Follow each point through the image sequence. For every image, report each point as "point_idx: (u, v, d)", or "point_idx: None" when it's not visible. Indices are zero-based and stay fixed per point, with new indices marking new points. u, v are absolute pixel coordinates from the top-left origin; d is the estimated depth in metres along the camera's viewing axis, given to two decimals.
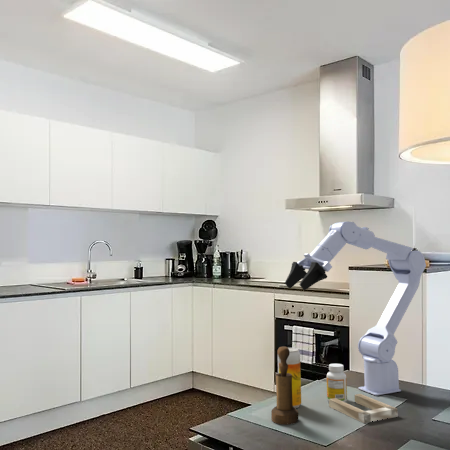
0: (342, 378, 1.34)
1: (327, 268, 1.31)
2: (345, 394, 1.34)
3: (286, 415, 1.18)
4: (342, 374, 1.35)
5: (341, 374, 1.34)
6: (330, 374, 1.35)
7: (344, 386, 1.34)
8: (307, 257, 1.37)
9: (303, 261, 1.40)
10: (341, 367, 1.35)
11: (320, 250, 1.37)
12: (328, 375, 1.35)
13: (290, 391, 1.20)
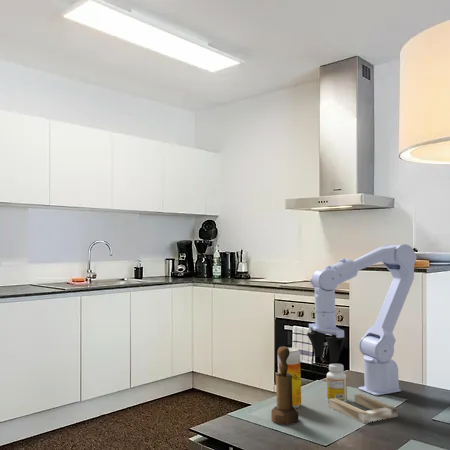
0: (342, 378, 1.34)
1: (341, 336, 1.34)
2: (345, 394, 1.34)
3: (286, 415, 1.18)
4: (342, 374, 1.35)
5: (341, 374, 1.34)
6: (330, 374, 1.35)
7: (344, 386, 1.34)
8: None
9: None
10: (341, 367, 1.35)
11: (322, 317, 1.39)
12: (328, 375, 1.35)
13: (290, 391, 1.20)
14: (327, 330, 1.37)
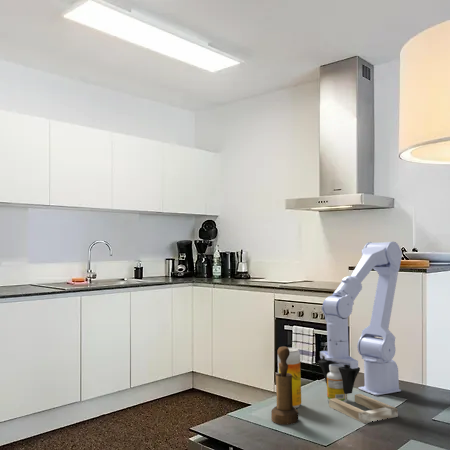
0: None
1: (355, 366, 1.29)
2: (345, 394, 1.34)
3: (286, 415, 1.18)
4: None
5: None
6: (330, 374, 1.35)
7: None
8: (329, 359, 1.34)
9: None
10: None
11: (335, 346, 1.33)
12: (328, 375, 1.35)
13: (290, 391, 1.20)
14: (340, 360, 1.31)
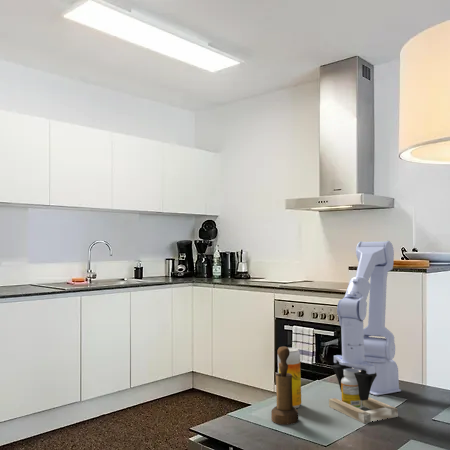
0: None
1: (372, 372, 1.23)
2: None
3: (286, 415, 1.18)
4: None
5: (356, 380, 1.28)
6: (345, 379, 1.29)
7: None
8: (344, 364, 1.28)
9: None
10: None
11: (350, 351, 1.27)
12: (343, 380, 1.29)
13: (290, 391, 1.20)
14: (356, 365, 1.26)
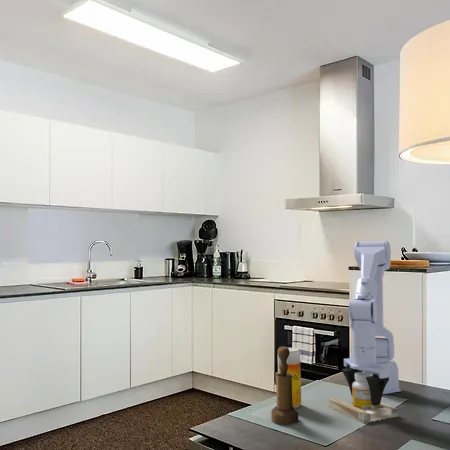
0: None
1: (385, 376, 1.19)
2: None
3: (286, 415, 1.18)
4: None
5: None
6: (356, 384, 1.25)
7: None
8: None
9: None
10: (368, 376, 1.25)
11: (361, 354, 1.23)
12: (354, 385, 1.25)
13: (290, 391, 1.20)
14: (368, 369, 1.22)
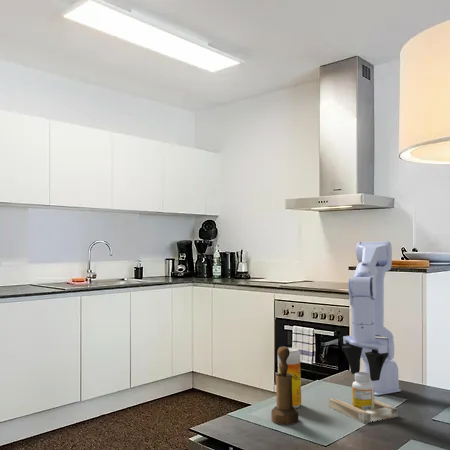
0: (370, 388, 1.24)
1: (384, 351, 1.19)
2: (373, 405, 1.24)
3: (286, 415, 1.18)
4: (370, 384, 1.25)
5: (368, 384, 1.24)
6: (356, 384, 1.25)
7: (372, 397, 1.24)
8: (355, 344, 1.25)
9: None
10: (368, 376, 1.25)
11: (361, 330, 1.24)
12: (354, 385, 1.25)
13: (290, 391, 1.20)
14: (367, 344, 1.22)
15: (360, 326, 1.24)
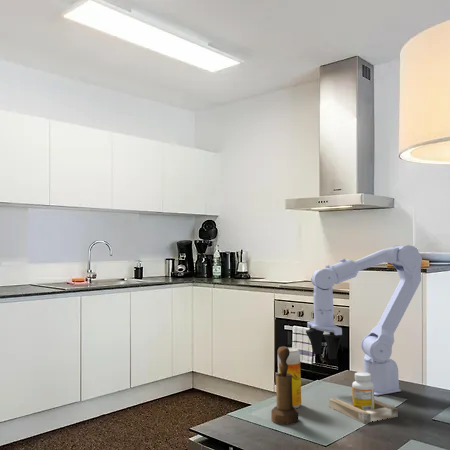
0: (370, 388, 1.24)
1: (339, 333, 1.38)
2: (373, 405, 1.24)
3: (286, 415, 1.18)
4: (370, 384, 1.25)
5: (368, 384, 1.24)
6: (356, 384, 1.25)
7: (372, 397, 1.24)
8: (315, 328, 1.44)
9: None
10: (368, 376, 1.25)
11: (320, 315, 1.43)
12: (354, 385, 1.25)
13: (290, 391, 1.20)
14: (325, 328, 1.41)
15: (320, 312, 1.43)
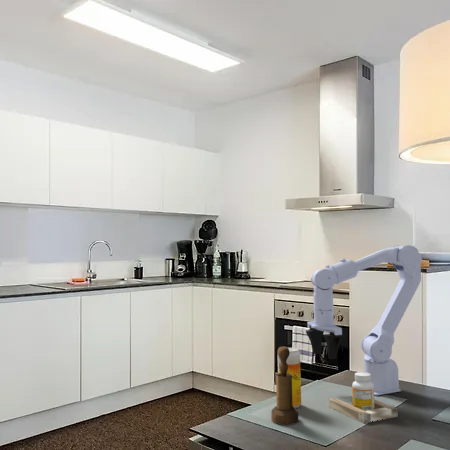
0: (370, 388, 1.24)
1: (339, 333, 1.38)
2: (373, 405, 1.24)
3: (286, 415, 1.18)
4: (370, 384, 1.25)
5: (368, 384, 1.24)
6: (356, 384, 1.25)
7: (372, 397, 1.24)
8: (315, 328, 1.44)
9: None
10: (368, 376, 1.25)
11: (320, 315, 1.43)
12: (354, 385, 1.25)
13: (290, 391, 1.20)
14: (325, 328, 1.41)
15: (320, 312, 1.43)
